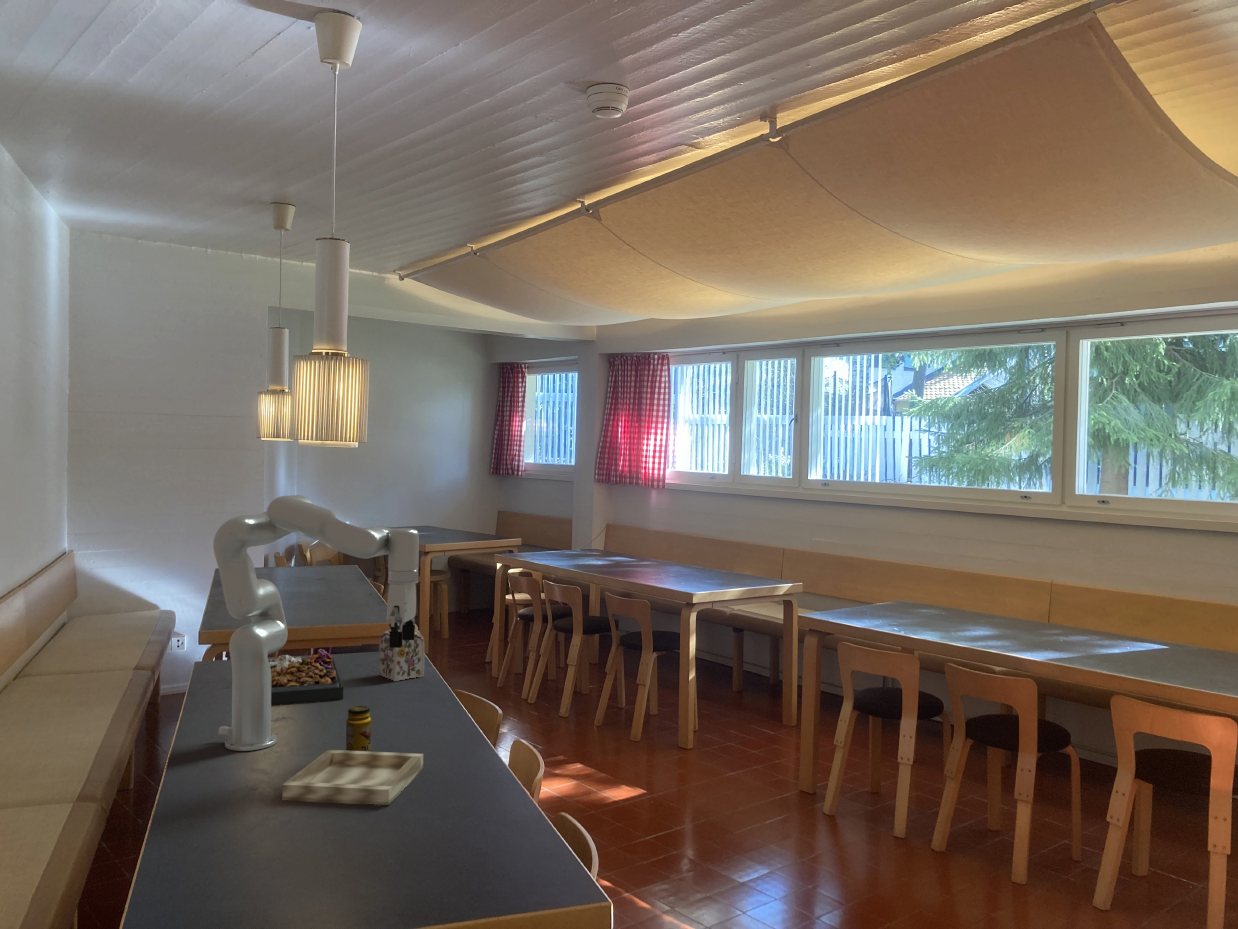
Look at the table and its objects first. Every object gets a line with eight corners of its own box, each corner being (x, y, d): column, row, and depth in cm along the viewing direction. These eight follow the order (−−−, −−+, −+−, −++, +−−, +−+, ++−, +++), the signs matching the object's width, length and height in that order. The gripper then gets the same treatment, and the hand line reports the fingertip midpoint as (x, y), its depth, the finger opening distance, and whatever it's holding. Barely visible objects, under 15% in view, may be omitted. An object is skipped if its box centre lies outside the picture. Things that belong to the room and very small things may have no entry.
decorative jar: (377, 676, 308) (378, 624, 308) (407, 671, 316) (408, 620, 316) (394, 682, 300) (395, 629, 300) (425, 677, 308) (425, 625, 308)
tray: (282, 800, 194) (282, 784, 194) (327, 763, 218) (328, 749, 218) (388, 805, 192) (388, 789, 192) (423, 768, 216) (423, 754, 216)
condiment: (375, 757, 224) (376, 709, 224) (342, 762, 219) (342, 714, 219) (366, 749, 230) (367, 702, 230) (333, 754, 226) (334, 707, 226)
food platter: (259, 675, 310) (259, 645, 310) (333, 669, 319) (333, 641, 319) (258, 708, 268) (258, 674, 268) (343, 701, 277) (343, 668, 277)
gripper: (400, 572, 236) (398, 636, 236) (377, 580, 219) (376, 650, 219) (427, 573, 236) (426, 637, 236) (406, 581, 218) (405, 651, 218)
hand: (402, 643), depth 227 cm, fingers open, 9 cm apart
